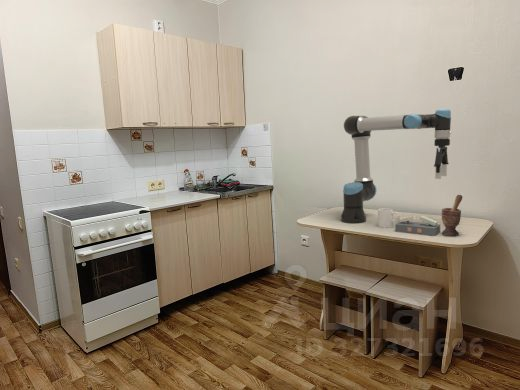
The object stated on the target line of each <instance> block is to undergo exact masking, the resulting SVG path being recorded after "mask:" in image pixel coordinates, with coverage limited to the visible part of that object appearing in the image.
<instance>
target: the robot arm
mask: <svg viewBox="0 0 520 390" xmlns="http://www.w3.org/2000/svg"><path fill="white" fill-rule="evenodd" d="M451 116H452V112H451V109H448V108H447V109H436V110H435V113H431V114H430V113H429V114H418V113H417V114H416V113H411V114H403V115H402V114H400V115H388V116H387V115H386V116H374V117H368V116H366V115H350V116H348V117H347V118H346V119H345V120H344V121H343V129H344V131H345V132H346V134H348V135H351V139H352V140H353V141H354V156H355V157H354V158H355V160H354V161H355V175H356V178H355V179H354V180H353V182H347V183H346V184H344V186H343V191H342V192H343V210H342V214H341V217H340V219H341V220H340V221H341V222H342V223H346V224H347V223H348V224H361V223H364V222H367V217H366V213H365V211H364V202H366V201H367V202H368V201H370V200H372V199H374V197H376V195H377V186H376V185H375V183H374V180H373V178H372V176H371V168H370V167H371V166H370V148H369V147H370V145H369V139H370V138H371V132H372V131H385V130H386V131H388V130H393V131H394V130H413V129H414V130H415V129H417V130H422V129H434V146H435V147H437V148H436V152H435V160H434V165H433V167H434V168H435V176H434V178H435V180H437V179H438V180H442V177H447V175H448V174H447V172H448V171H447V170H448V165H449V160H448V147H447V146H450V145H451V139H450V137H451V134H452V132H451V123H452V117H451Z"/></svg>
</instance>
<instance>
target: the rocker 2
mask: <svg viewBox="0 0 520 390" xmlns="http://www.w3.org/2000/svg"><path fill="white" fill-rule="evenodd" d="M419 221H422V223H428V224H431V225H433V226H436V225H437V224H439V223H438V222H439V221H437V220H435V219H432V218H430V217H428V216H425V215H421V216H419Z"/></svg>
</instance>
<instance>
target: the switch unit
mask: <svg viewBox="0 0 520 390" xmlns="http://www.w3.org/2000/svg"><path fill="white" fill-rule="evenodd" d="M394 225H395V228H394V229H395V230H394V231H395V232H398V233H406V234H413V235H422V236H432V237H435V236H437V235H438V234H439V233H440V232H441V224H440V223H437V225H436V226H433V225H431V224H428V223H426V222H419V221H412V220H409V221H404V222H399V221H398V222H397V223H395V224H394Z"/></svg>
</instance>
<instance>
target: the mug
mask: <svg viewBox="0 0 520 390" xmlns="http://www.w3.org/2000/svg"><path fill="white" fill-rule="evenodd" d="M393 215H396V217H395V218H394V216H393ZM399 217H400V214H399V213H398V212H397V211H394V210H393V209H392V208H386V207H385V208H383V207H382V208H378V209H377V226H378V227H379V228H385V229H390V228H393V225H394V223H393V222H396V221H399V220H398V219H400V218H399Z"/></svg>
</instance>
